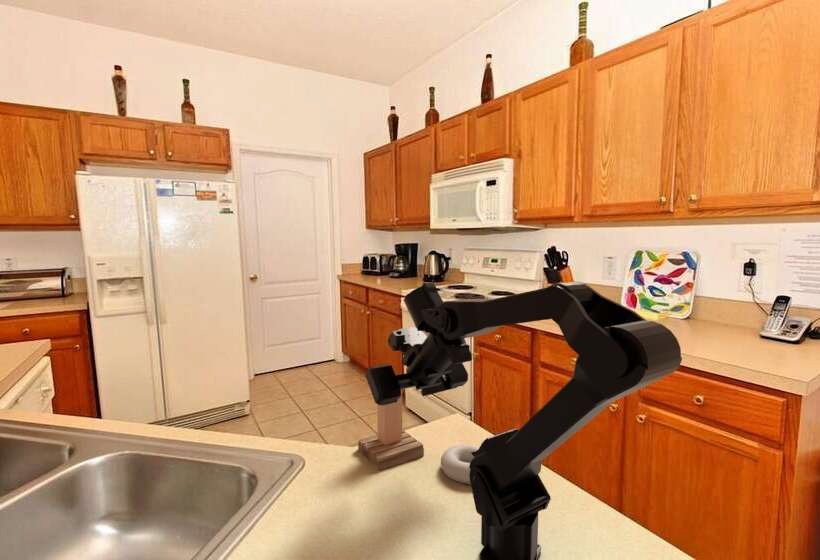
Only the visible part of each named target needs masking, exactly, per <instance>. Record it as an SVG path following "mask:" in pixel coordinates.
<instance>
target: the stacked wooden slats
mask: <svg viewBox="0 0 820 560" xmlns="http://www.w3.org/2000/svg"><path fill="white" fill-rule="evenodd" d="M366 443H367V444H366ZM357 449H358V451H359V452H360V453H361V454H362V455H363V456H364V457H365V458H366V459H367V460H368V461H369V462H370V463H371V464H372V465H373V466H374V467H375V468H376V469H377V470H378V471H380V470H385V469H387V468H390V467H393V466H396V465H399V464H402V463H405V462H407V461H411V460H414V459H417V458H420V457H423V456H425V454H424V453H425V448H424V444H423V443H422V442H420V441H419V440H417V438H415V437H413V436H412V435H411V434H409V433H408V432H407V431H405V430H404V429H403V428H402V440H400V441H397V442H394V443H390V444H387V445H384V444H383V443H382V442H381V441H379V440H378V434H375V435H371V436H368V437H363V438H361V439H358V443H357Z"/></svg>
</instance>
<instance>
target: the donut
mask: <svg viewBox="0 0 820 560" xmlns="http://www.w3.org/2000/svg"><path fill="white" fill-rule="evenodd" d="M479 448H480V446H477V445H473V444H457V445H453V446H450V447H449V448H447V449H446V450H444V452H443V454H442V455H441V457H440V467H441V469H442V471H443V472H444V474H445V475H446V476H447V477H448V478H449V479H451V480H453V481H456V482H458V483H461V484H469V485H471V483H470V477H469V473H470V470H471V469H470V468H469V465H470V462H471V460H472V459H473V458H474V456H473V455H472V454H471V452H473V451H476V450H478V449H479Z"/></svg>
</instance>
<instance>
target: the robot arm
mask: <svg viewBox="0 0 820 560" xmlns="http://www.w3.org/2000/svg"><path fill="white" fill-rule="evenodd" d="M403 303H404V305H405V306H406V309H407V311H408V313H409V315H410V317H411V319H412V322H413V324H414V326H412V327H405V328H404V327H403V328H399V329H398V330H393V331H392V332H391V333H390V334H389V335H388V339H387V345H388V346H389V347H390V349H391V350H392V352H400V354H401V355H402V358H401V363H402V365H403V366H404V367H405V368H406V369H405V371H406V372H405V373H401V374H396V373H395V370H394V367H393V366H392V365H391V364H389V363H384V364H378V365H372V366H370V367H369V368H368V370H367V372H366V374H365V378H366V381H367V384H368V388H369V390H370V392H371V395H372V398H373V400H374V403H375V404H377V406H378V405H381V406H384V405H388V404H391V403H395V402H397V400H398V399H399V398H400V397H401V390H402V391H403V390H405V389H410V388H414V387H415V390H416V391H418V390H421V391H420V393H421V395H422V397H425V396H426V397H427V396H430V395H434V394H438V393H442V392H445V391H449V390H450V391H451V390H454V389H457V388H459V387H464V385H466V383H467V382H469V373H468V371H467V369H466V367H465V365H464V363H469V362H472V361H473V356H472V355H473V354H472V352H471V349H470V345H469V344H467V341H466V339H469V338H475V337H481V336H485V335H487V334H490V333H492V332H494V331H496V330H498V329H499V328H501V327H504V326H509V325H510V326H511V325H517V324H523V323H531V322H539V321H547V320H552V321H553V322H554V323H556V325H558V328H559V329H560V331H561V333H562V336H563V337H564V340H565V341H566V343H567V344H566V345H568V346H569V347H570V348H571V350H573V351H574V352H575V353H576V354H577V358H576V359H575V364H574V369H573V370H574V371H573V374H572V377H571V378H570V380H569V381H567V383H566V384H564V386H562V387H561V389H559V390H558V391H557V392H556V393H555V394H554V395H553V396H552V397H550V399H549V400H548V401H546V403H545V404H544V405H543V406H542V407H541V408H540V409H539V410H538V411H537V412H535V414H534V415H533V416H532V417H530V418H529V420H528V421H526V422H525V423H524V425H522V426H521V427H520V428H519V429H518V428H517V427H515V428H514V429H511V430H507V431H504V432H502V433H499V434H495V435H493V436H490V437H487V438H485V439H484V440H483V441H482V443H481V444H480V446H479V447H480V448H479V449H478V450H476V451H473V452H471V454H472V455H473V456H474V458H473V459H472V460H471V462H470V465H469V468H470V469H471V470H470V473H469V477H470V483H471V484H470V487H471V493H472V495H473V496H472V497H473V502H474V506H475V511H476V513H477V514H478V515H479V516H480V518H481V524H480V525H481V526H480V527H481V528H480V531H481V532H480V543H481V546H483V547H482V548H481V550H480V552H479V557H478V558H479V560H538V558H539V556H540V553H541V552H542V546H541V544H539V543H538V539H539V535H538V534H539V512H541V511H542V510H543V511H544V510H546V509H548V506H549V504H550V502H551V497H552V496H551V495H550V493H549V492H548V490H547V488H546V486H545V484H544V483H543V481H542V478H541V477H540V475H539V474H540V473H541V469H542V463H543V461H544V460H545V459H546V458H548V456H549V455H550V454H551V453H553V452H554V451H556V450H557V449H558V448H559V447H560V446H561V445H563V444H564V443H565V442H566V441H567V440H569V439H570V438H571V437H572V436H573V435H575V434H576V433H577V432H578V431H579V430H581V429H582V428H583V427H584V426H585V425H587V424H588V423H589V422H591V421H592V420H593V419H594V418H595V417H596V416H598V415H599V414H600V413H601V412H603V410H605V409H607V407H608V406H610V405H611V404H612V403H614V402H615V401H617V400H619V399H622V398H625V397H626V396H628V395H631V394H633V393H635V392H637V391H639V390H642V389H644V388H646V387H648V386H650V385H651V384H652V385H653V384H654V383H656V382H658V381H660V380H662V379H664V378H666V377H669V376H670V375H672V374H673V373H675V372H676V371H677V369H678V368H680V366H681V364H682V361H683V357H682V354H681V352H682V351H681V349H682V348H681V346H680V342H679V340H678V339H677V337H676V336H675V335H674V333H673V332H672V330H671V329H670V328H668V327H666V326H665V325H663V324H662V323H659V322H656V321H653V320H647V319H645V318H644V317H643V316H641V315H640V314H639V313H637V312H635V311H634V310H633V309H630V308H628V307H626V306H624V305H623V304H621V303H619V302H616V301H614V300H612V299H610V298H608V297H606V296H604V295H601V294H600V293H599V292H598V291H596V290H595V289H594V288H592V287H591V286H590V285H588V284H586V283H584V282H581V281H570V282H557V283H553V284H550V285H549V286H547V287H543V288H537V289H534V290H529V291H525V292H520V293H517V294H516V293H515V294H511V295H507V296H501V297H497V298H494V299H493V298H468V299H457V300H448V301H447V300H446V301H445V300H443V298H442V297H441V295H440V293H439V291H438V289H437V286H436V284H435V282H433V281H431V282H423V283H422V285H421V286H418V287H417V288H415V289H413V290H411V291H410V292H409V293H407V294H406V295H405V296H404V298H403ZM424 332H425V333H427V334H428V335H426V334H425V333H424Z"/></svg>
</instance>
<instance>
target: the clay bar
mask: <svg viewBox="0 0 820 560" xmlns="http://www.w3.org/2000/svg"><path fill="white" fill-rule="evenodd" d="M402 429H403V389H402V390H401V397H400V398H399V399H398V400H397V402H395V403H391V404H388V405H384V406H381V405H378V404H377V435H378V440H379V441H381V442H382V443H383V444H384V445H387V444H390V443H394V442H397V441H400V440H402Z"/></svg>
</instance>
